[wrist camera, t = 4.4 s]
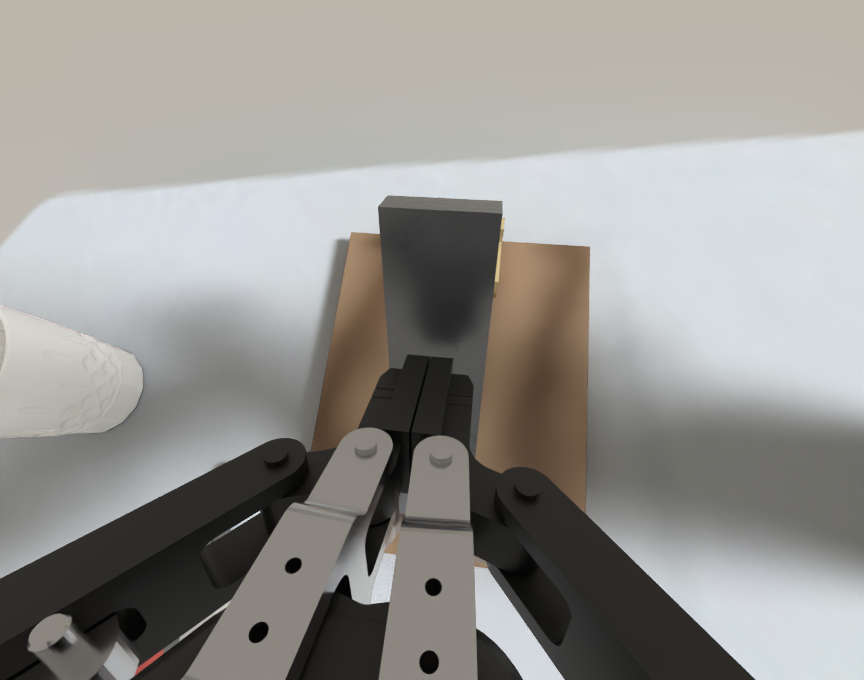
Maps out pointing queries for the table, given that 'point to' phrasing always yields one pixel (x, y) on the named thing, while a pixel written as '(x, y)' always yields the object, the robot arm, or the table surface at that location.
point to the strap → (440, 284)
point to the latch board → (505, 361)
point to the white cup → (61, 379)
